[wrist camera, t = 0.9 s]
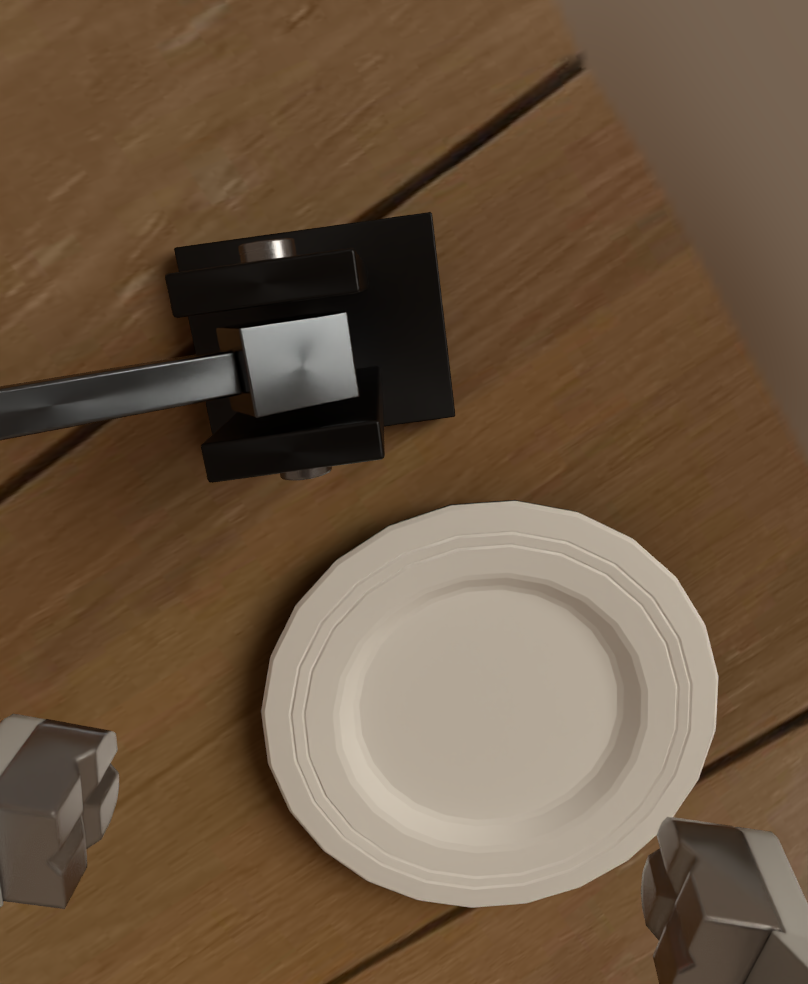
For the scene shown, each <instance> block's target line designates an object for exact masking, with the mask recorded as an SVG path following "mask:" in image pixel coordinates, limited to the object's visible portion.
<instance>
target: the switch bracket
mask: <svg viewBox="0 0 808 984" xmlns="http://www.w3.org/2000/svg"><path fill="white" fill-rule="evenodd" d="M174 250H175V255H176V260H177V265H178V270H179V272H175V273H168V274H166V276H165V280H166V284H167V289H168V294H169V299H170V303H171V308H172V313H173V316H174V317H176V318H180V317H187V316H188V318H189V323H190V328H191V333H192V338H193V343H194V347H195V352H196V354H202V353H209V352H215V351H220V347H219V342H218V337H217V332H216V329H217V328H219V327H225V326H232V325H239V324H245V323H252V322H259V321H265V320H272V319H279V318H285V317H292V316H299V315H305V314H312V313H325V312H339V311H346V312H347V315H348V322H349V329H350V335H351V342H352V349H353V355H354V362H355V369H356V375H357V382H358V389H359V398H356V399H351V400H346V401H341V402H337V403H332V404H327V405H322V406H317V407H312V408H307V409H302V410H297V411H292V412H287V413H283V414H278V415H273V416H268V417H263V418H258V419H257V418H254V417H251V416H248V415H246V414H243V413H240V412H237V411H234V410H232V408H231V403H230V398H229V397H227V398H222V399H217V400H212V401H206V406H207V411H208V416H209V420H210V425H211V430H212V436H211V437H209V438H208V439H207V440H206V441H205V442H204V443H203V444H202V445H201V450H202V455H203V460H204V465H205V469H206V474H207V479H208V481H209V482H212V483H213V482H220V481H227V480H235V479H242V478H249V477H257V476H264V475H271V474H279V473H280V476H281V478H282V479H284V480H305V479H311V478H315V477H319V476H322V475H324V474H327V473H328V472H330V471H331V469H332V466H337V465H344V464H352V463H359V462H366V461H373V460H381V459H383V458H384V455H385V453H384V426H390V425H397V424H405V423H412V422H419V421H426V420H434V419H441V418H448V417H454V416H455V409H454V400H453V391H452V383H451V374H450V365H449V357H448V348H447V340H446V331H445V322H444V314H443V305H442V296H441V288H440V279H439V271H438V262H437V253H436V245H435V236H434V227H433V219H432V213H431V212H428V213H421V214H414V215H407V216H399V217H392V218H385V219H378V220H371V221H363V222H356V223H349V224H342V225H335V226H327V227H320V228H313V229H306V230H299V231H291V232H284V233H277V234H270V235H263V236H255V237H248V238H241V239H234V240H227V241H219V242H212V243H205V244H198V245H191V246H183V247H176V248H175V249H174Z"/></svg>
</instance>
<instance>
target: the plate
mask: <svg viewBox="0 0 808 984" xmlns="http://www.w3.org/2000/svg"><path fill="white" fill-rule="evenodd" d="M717 693H718V674H717V670H716V666H715V662H714V658H713V654H712V650H711V646H710V642H709V638H708V634H707V630H706V626H705V624H704V622H703V620H702V619H701V617H700V615H699V614H698V612H697V610H696V609H695V607H694V606H693V604H692V602H691V601H690V599H689V597H688V596H687V594H686V592H685V591H684V589H683V588H682V586H681V584H680V583H679V581H678V579H677V578H676V577H675V576H674V575H673V574H672V573H671V572H670V571H669V570H667V569H666V568H665V567H664V566H663V565H662V564H661V563H660V562H658V561H657V560H656V559H655V558H654V557H653V556H652V555H651V554H649V553H648V552H647V551H646V550H645V549H644V548H643V547H642V546H640V545H639V544H638V543H637V542H636V541H635V540H634V539H632V538H631V537H629V536H627V535H625V534H623V533H621V532H618V531H616V530H614V529H612V528H610V527H608V526H606V525H604V524H602V523H600V522H598V521H596V520H593V519H591V518H589V517H587V516H585V515H583V514H581V513H579V512H577V511H571V510H566V509H561V508H555V507H550V506H544V505H539V504H534V503H528V502H523V501H517V500H508V501H494V502H480V503H467V504H453V505H448V506H445V507H442V508H439V509H436V510H433V511H430V512H427V513H424V514H421V515H418V516H415V517H412V518H409V519H406V520H403V521H400V522H397V523H394V524H391V525H389V526H387V527H385V528H384V529H382V530H381V531H379V532H378V533H376V534H375V535H373V536H372V537H370V538H369V539H367V540H365V541H364V542H362V543H361V544H359V545H358V546H356V547H355V548H353V549H352V550H350V551H348V552H347V553H345V554H344V555H342V556H341V557H339V558H338V559H336V560H335V561H334V563H333V564H332V565H331V566H330V567H329V568H328V569H327V570H326V571H325V573H324V574H323V575H322V576H321V577H320V578H319V579H318V580H317V581H316V583H315V584H314V585H313V586H312V587H311V588H310V589H309V590H308V591H307V593H306V594H305V595H304V596H303V597H302V598H301V599H300V600H299V601H298V603H297V604H296V605H295V608H294V610H293V612H292V614H291V616H290V618H289V620H288V622H287V624H286V626H285V628H284V630H283V632H282V634H281V636H280V638H279V640H278V642H277V644H276V646H275V648H274V650H273V652H272V654H271V657H270V661H269V667H268V673H267V679H266V685H265V691H264V697H263V703H262V709H261V714H262V722H263V729H264V737H265V744H266V752H267V760H268V765H269V767H270V769H271V771H272V774H273V776H274V778H275V780H276V782H277V785H278V787H279V789H280V791H281V793H282V796H283V798H284V800H285V802H286V804H287V807H288V809H289V811H290V812H291V813H292V815H293V816H294V817H295V818H296V819H297V821H298V822H299V823H300V824H301V825H302V826H303V828H304V829H305V830H306V831H307V832H308V833H309V835H310V836H311V837H312V838H313V839H314V840H315V842H316V843H317V844H318V845H319V846H320V848H321V849H322V850H323V851H324V852H326V853H327V854H329V855H330V856H331V857H333V858H334V859H336V860H337V861H339V862H340V863H342V864H343V865H344V866H346V867H347V868H349V869H350V870H352V871H353V872H355V873H356V874H357V875H359V876H360V877H362V878H363V879H365V880H366V881H368V882H371V883H374V884H376V885H379V886H381V887H384V888H387V889H389V890H392V891H395V892H397V893H400V894H402V895H405V896H408V897H410V898H413V899H416V900H420V901H427V902H434V903H442V904H449V905H456V906H463V907H470V908H473V907H486V906H498V905H511V904H524V903H529V902H532V901H536V900H539V899H542V898H546V897H549V896H552V895H556V894H559V893H562V892H566V891H569V890H572V889H576V888H579V887H581V886H583V885H585V884H586V883H588V882H590V881H592V880H594V879H595V878H597V877H599V876H601V875H603V874H604V873H606V872H608V871H610V870H612V869H613V868H615V867H617V866H619V865H621V864H622V863H624V862H626V861H628V860H629V859H630V858H631V857H632V856H633V855H634V854H636V853H637V852H638V851H639V850H640V849H641V848H642V847H643V846H644V845H646V844H647V843H648V842H649V841H650V840H651V839H652V838H653V837H654V836H656V835H657V832H658V830H659V827H660V825H661V823H662V821H663V820H665V819H666V818H667V817H673V816H674V815H675V813H676V812H677V810H678V809H679V807H680V806H681V804H682V803H683V802H684V800H685V799H686V797H687V796H688V794H689V793H690V791H691V790H692V788H693V787H694V785H695V784H696V782H697V781H698V779H699V776H700V773H701V770H702V768H703V765H704V762H705V759H706V756H707V753H708V750H709V747H710V744H711V742H712V739H713V736H714V733H715V730H716V713H717Z"/></svg>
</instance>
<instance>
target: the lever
mask: <svg viewBox="0 0 808 984" xmlns="http://www.w3.org/2000/svg"><path fill="white" fill-rule="evenodd" d="M216 332H217V337H218V342H219V347H220V351H215V352H209V353H202V354H196V355H190V356H184V357H178V358H172V359H166V360H159V361H153V362H147V363H141V364H135V365H129V366H123V367H116V368H110V369H104V370H98V371H92V372H86V373H80V374H73V375H67V376H61V377H55V378H49V379H43V380H37V381H30V382H24V383H18V384H12V385H6V386H0V440H5V439H10V438H16V437H21V436H26V435H32V434H37V433H42V432H47V431H53V430H58V429H63V428H69V427H74V426H79V425H85V424H90V423H95V422H100V421H106V420H111V419H116V418H122V417H127V416H132V415H137V414H143V413H148V412H153V411H159V410H164V409H169V408H175V407H180V406H185V405H190V404H196V403H201V402H206V401H212V400H217V399H222V398H227V397H229V398H230V403H231V408H232V410H234V411H237V412H240V413H243V414H246V415H248V416H251V417H254V418H257V419H258V418H263V417H268V416H273V415H278V414H283V413H287V412H292V411H297V410H302V409H307V408H312V407H317V406H322V405H327V404H332V403H337V402H341V401H346V400H351V399H356V398H359V389H358V382H357V375H356V369H355V362H354V355H353V349H352V342H351V335H350V329H349V322H348V315H347V312H346V311H339V312H325V313H312V314H305V315H299V316H292V317H285V318H279V319H272V320H265V321H259V322H252V323H245V324H239V325H232V326H225V327H219V328H217V329H216Z"/></svg>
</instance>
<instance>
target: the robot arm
mask: <svg viewBox="0 0 808 984" xmlns="http://www.w3.org/2000/svg"><path fill="white" fill-rule="evenodd" d="M116 752H117V740H116V733H114V732H112V731H109V730H104V729H98V728H93V727H87V726H82V725H77V724H71V723H66V722H60V721H55V720H49V719H40V718H35V717H29V716H24V715H18V714H12V715H10V716H9V717H7V718H5V719H4V720H2V721H1V723H0V907H1V906H3V901H7V902H15V903H23V904H30V905H38V906H46V907H54V908H62V909H65V908H66V906H67V904H68V902H69V900H70V898H71V896H72V894H73V892H74V891H75V889H76V887H77V885H78V883H79V881H80V879H81V877H82V876H83V874H84V872H85V870H86V868H87V854H86V849H88V848H89V847H91V846H92V845H94V844H95V843H97V842H98V841H100V840H101V839H102V837H103V835H104V833H105V831H106V829H107V827H108V825H109V823H110V821H111V818H112V815H113V812H114V809H115V805H116V802H117V797H118V789H119V773H118V772H117V770H116V769H115V768H114V767H113V766H112V764H111V761H112V759H113V757H114V756H115V754H116ZM657 838H658V842H659V846H660V849H658V850H657V851H655V852H654V853H652V854H650V855H649V856H648V858H647V861H646V864H645V867H644V870H643V874H642V885H641V899H642V909H643V914H644V918H645V923H646V926H647V927H648V928H649V929H650V931H651V932H652V933H653V934H654V935H655V937H656V938H657V939H658V940H659V942H658V945H657V947H656V950H655V952H654V954H653V959H654V963H655V968H656V972H657V976H658V980H659V984H808V903H807V901H806V899H805V897H804V895H803V892H802V890H801V888H800V886H799V883H798V881H797V879H796V877H795V875H794V872H793V870H792V868H791V866H790V864H789V861H788V859H787V857H786V855H785V852H784V850H783V848H782V846H781V844H780V841H779V839H778V838H777V837H776V836H775V835H774V834H773V833H772V832H768V831H762V830H755V829H748V828H741V827H733V826H729V825H722V824H715V823H708V822H701V821H694V820H687V819H680V818H673V817H667V818H666V819H665V820H663V821H662V823H661V825H660V827H659V830H658V832H657Z"/></svg>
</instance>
